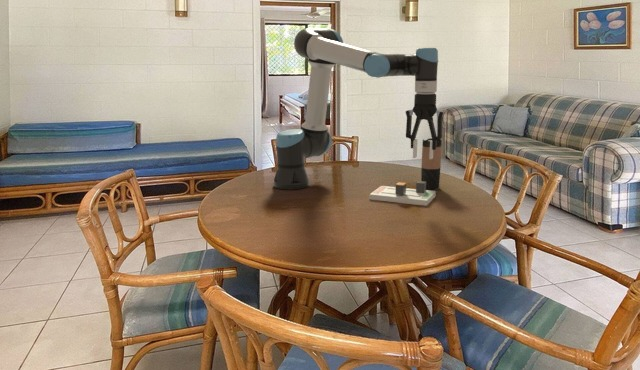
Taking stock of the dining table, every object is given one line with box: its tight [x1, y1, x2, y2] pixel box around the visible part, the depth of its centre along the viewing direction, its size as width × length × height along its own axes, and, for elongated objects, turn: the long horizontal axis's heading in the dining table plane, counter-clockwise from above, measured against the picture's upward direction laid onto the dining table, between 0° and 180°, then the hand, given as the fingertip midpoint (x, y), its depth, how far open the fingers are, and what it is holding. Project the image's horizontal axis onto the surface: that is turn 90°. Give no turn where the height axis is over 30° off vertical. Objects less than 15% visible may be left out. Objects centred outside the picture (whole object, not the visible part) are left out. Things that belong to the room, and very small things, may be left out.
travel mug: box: [420, 137, 442, 191], centre depth 199 cm, size 8×8×20 cm
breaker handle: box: [395, 181, 407, 195], centre depth 184 cm, size 3×4×4 cm
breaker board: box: [369, 180, 437, 207], centre depth 187 cm, size 22×14×6 cm, turn 64°
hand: (423, 157), depth 177 cm, fingers open, 5 cm apart
